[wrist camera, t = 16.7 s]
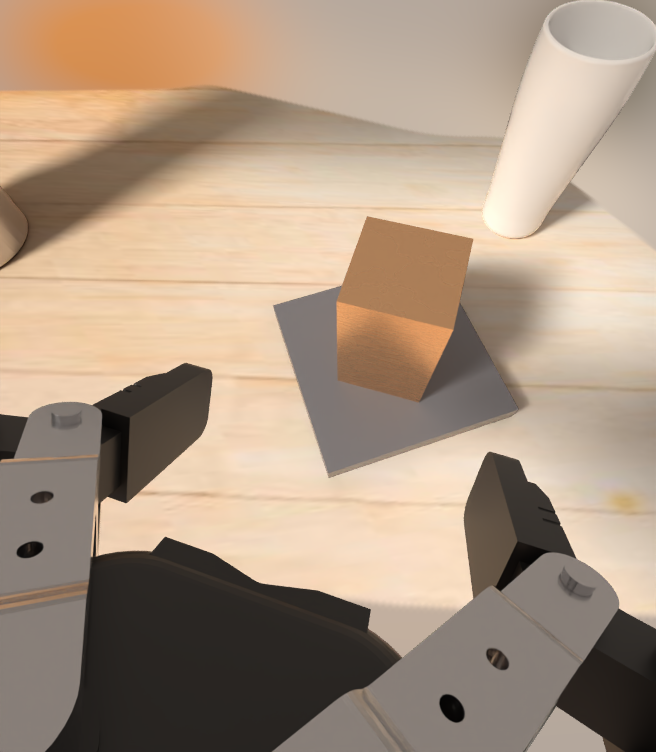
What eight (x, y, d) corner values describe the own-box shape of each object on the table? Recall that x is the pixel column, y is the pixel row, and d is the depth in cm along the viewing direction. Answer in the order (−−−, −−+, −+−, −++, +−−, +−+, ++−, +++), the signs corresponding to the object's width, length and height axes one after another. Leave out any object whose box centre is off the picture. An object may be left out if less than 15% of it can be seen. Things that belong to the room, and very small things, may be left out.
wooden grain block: (337, 380, 31) (336, 301, 22) (359, 313, 33) (367, 216, 24) (418, 402, 30) (453, 330, 21) (435, 331, 32) (473, 239, 23)
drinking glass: (510, 260, 37) (611, 78, 23) (456, 214, 39) (518, 23, 25) (563, 224, 38) (688, 33, 24) (508, 181, 41) (594, -15, 27)
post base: (275, 315, 35) (260, 254, 28) (432, 270, 36) (453, 201, 30) (328, 477, 29) (325, 450, 22) (510, 416, 31) (559, 373, 24)
